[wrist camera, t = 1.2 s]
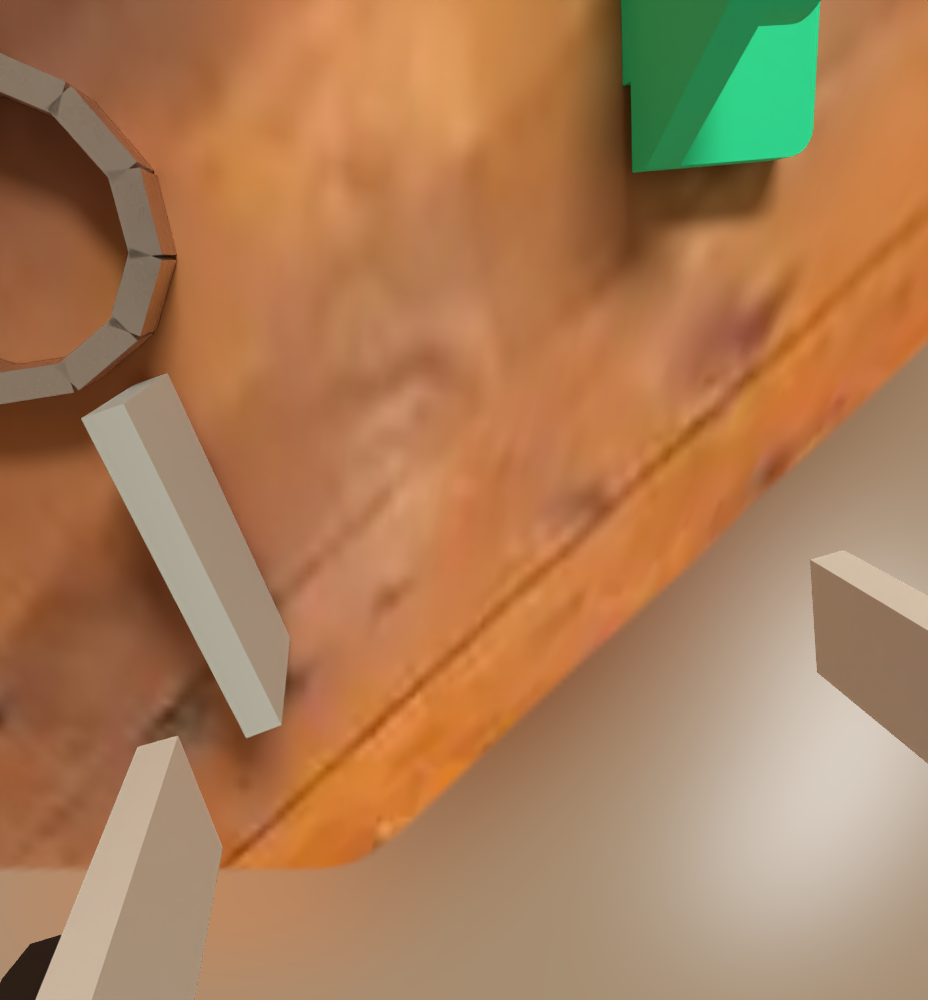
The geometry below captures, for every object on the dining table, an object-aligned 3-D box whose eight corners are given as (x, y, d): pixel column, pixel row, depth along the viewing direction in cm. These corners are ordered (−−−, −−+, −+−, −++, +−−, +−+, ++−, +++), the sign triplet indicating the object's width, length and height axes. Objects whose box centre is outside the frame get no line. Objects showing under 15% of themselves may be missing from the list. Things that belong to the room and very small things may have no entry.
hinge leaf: (261, 647, 37) (246, 738, 30) (134, 384, 32) (81, 418, 25) (289, 637, 37) (281, 724, 30) (167, 372, 32) (123, 403, 25)
